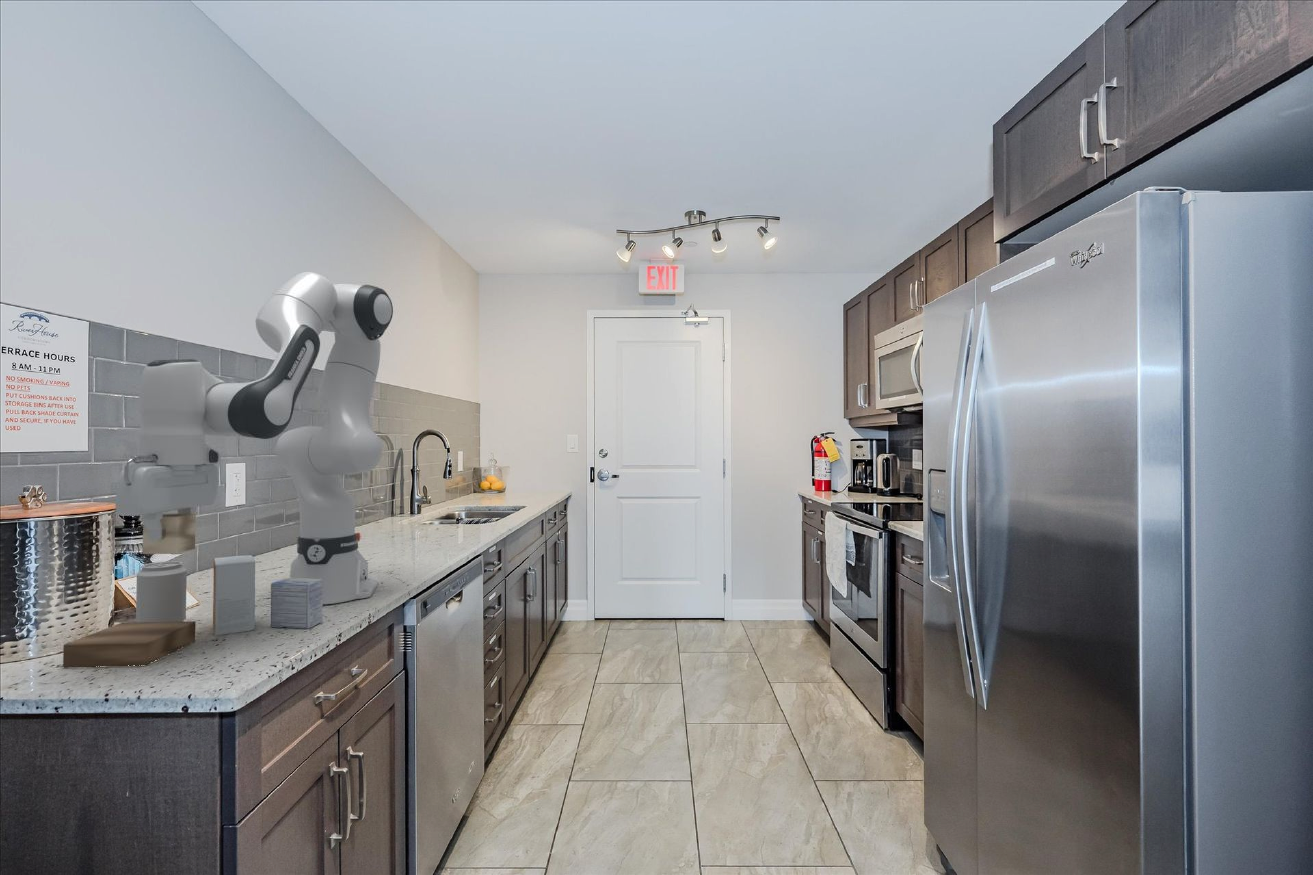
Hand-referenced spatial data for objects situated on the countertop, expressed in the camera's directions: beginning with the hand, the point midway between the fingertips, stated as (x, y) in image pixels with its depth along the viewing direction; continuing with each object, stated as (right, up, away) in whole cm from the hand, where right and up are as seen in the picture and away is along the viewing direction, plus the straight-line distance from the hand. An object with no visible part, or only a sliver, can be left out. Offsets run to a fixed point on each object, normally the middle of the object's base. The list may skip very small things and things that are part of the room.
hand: (169, 537), depth 103 cm
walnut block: (-6, -20, 0) cm, 21 cm away
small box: (+1, -20, +14) cm, 24 cm away
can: (-13, -20, +15) cm, 28 cm away
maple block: (0, -2, 0) cm, 2 cm away
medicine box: (+12, -20, +16) cm, 28 cm away
